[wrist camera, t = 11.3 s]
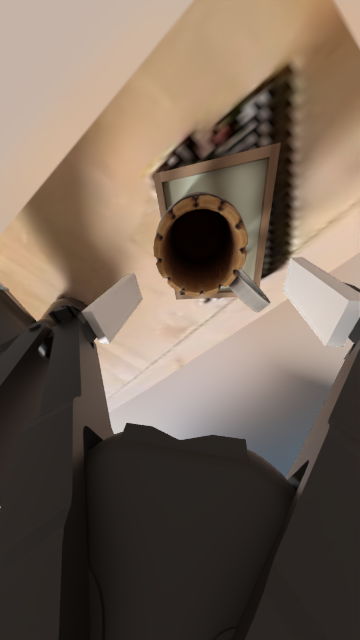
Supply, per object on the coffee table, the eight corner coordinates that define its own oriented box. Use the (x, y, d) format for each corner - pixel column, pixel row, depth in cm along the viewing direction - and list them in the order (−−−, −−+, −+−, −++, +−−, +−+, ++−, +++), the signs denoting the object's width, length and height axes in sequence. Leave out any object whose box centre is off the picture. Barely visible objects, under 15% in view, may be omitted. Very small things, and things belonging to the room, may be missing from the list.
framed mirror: (180, 288, 38) (176, 299, 34) (163, 178, 26) (153, 174, 22) (253, 284, 34) (258, 295, 30) (269, 153, 23) (280, 142, 18)
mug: (154, 240, 27) (119, 266, 15) (194, 172, 22) (190, 127, 10) (220, 292, 32) (235, 346, 19) (266, 247, 26) (327, 281, 14)
